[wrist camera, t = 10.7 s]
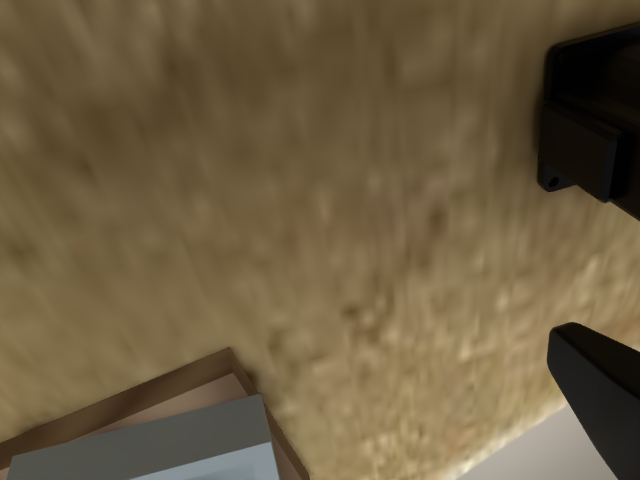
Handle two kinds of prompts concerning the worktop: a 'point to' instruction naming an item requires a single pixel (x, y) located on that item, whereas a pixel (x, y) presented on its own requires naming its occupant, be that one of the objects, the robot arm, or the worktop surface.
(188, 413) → the slab top
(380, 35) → the worktop surface
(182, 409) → the slab bottom
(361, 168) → the worktop surface
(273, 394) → the worktop surface
